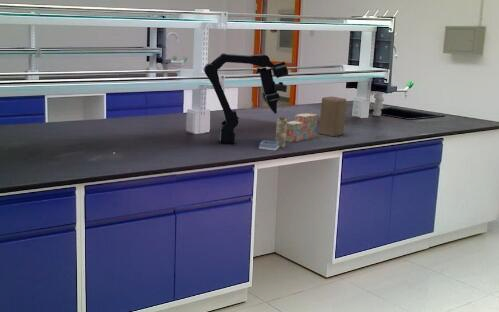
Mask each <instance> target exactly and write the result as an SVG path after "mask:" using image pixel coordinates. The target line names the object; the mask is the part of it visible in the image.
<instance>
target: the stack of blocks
mask: <svg viewBox="0 0 499 312" xmlns="http://www.w3.org/2000/svg"><path fill="white" fill-rule="evenodd" d="M318 116H319V115H318V114H315V113H309V112H306V113H305V112H304V113H298V114H295V115H294V120H292V121H287V128H286V141H285V142H289V143H294V142H295V143H296V142H300V141H304V140H310V139H315V138H317V127H318V118H319V117H318Z"/></svg>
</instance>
